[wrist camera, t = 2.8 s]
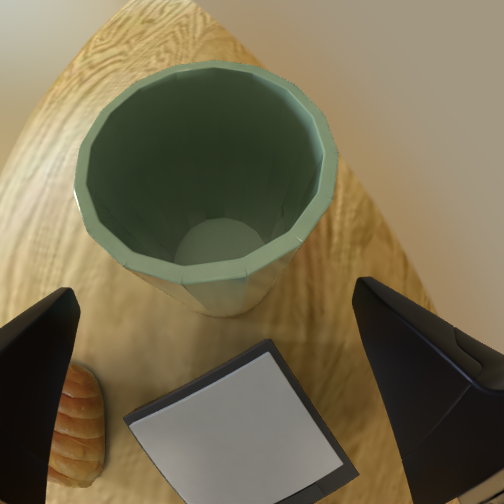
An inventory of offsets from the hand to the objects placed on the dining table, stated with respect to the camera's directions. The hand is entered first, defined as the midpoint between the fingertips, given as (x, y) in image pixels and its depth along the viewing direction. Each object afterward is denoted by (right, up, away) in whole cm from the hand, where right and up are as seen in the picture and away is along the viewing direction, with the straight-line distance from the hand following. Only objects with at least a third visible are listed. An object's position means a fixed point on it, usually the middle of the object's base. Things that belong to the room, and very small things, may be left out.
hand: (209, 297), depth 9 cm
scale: (+1, -11, +8) cm, 13 cm away
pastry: (-12, -11, +7) cm, 18 cm away
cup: (-1, +1, +11) cm, 11 cm away
